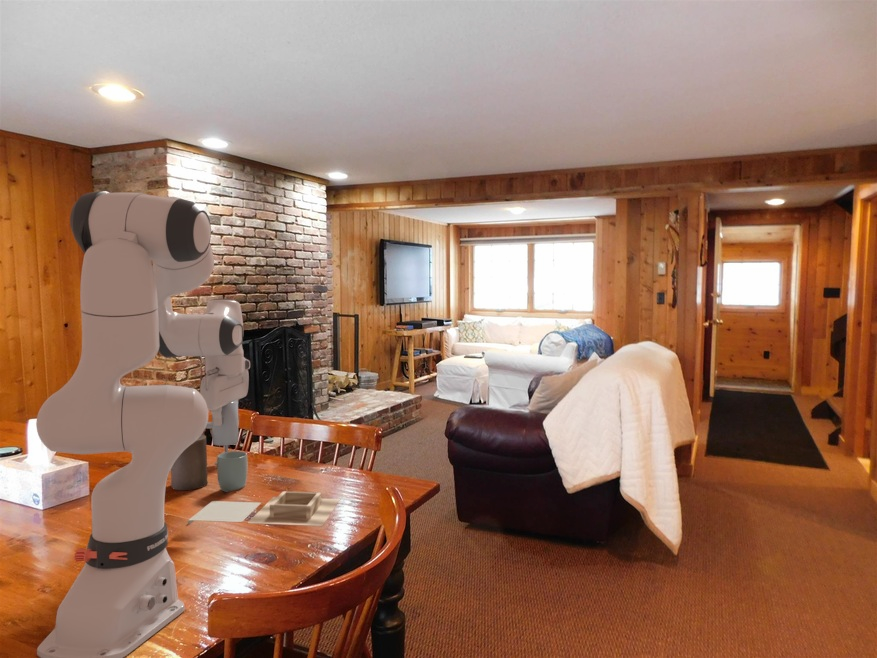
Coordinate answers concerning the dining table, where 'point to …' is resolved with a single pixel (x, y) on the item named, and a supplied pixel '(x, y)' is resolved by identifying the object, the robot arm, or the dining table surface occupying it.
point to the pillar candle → (191, 467)
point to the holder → (296, 509)
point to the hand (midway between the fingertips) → (225, 421)
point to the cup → (232, 470)
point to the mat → (225, 511)
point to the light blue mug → (226, 426)
